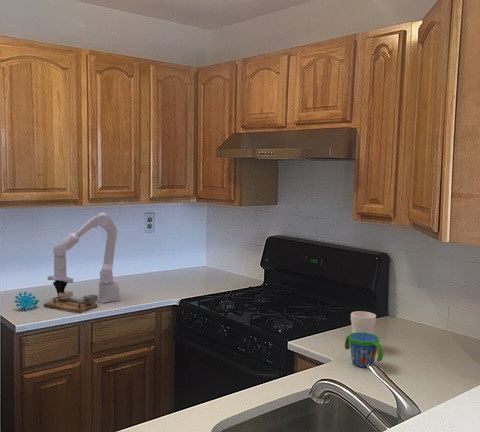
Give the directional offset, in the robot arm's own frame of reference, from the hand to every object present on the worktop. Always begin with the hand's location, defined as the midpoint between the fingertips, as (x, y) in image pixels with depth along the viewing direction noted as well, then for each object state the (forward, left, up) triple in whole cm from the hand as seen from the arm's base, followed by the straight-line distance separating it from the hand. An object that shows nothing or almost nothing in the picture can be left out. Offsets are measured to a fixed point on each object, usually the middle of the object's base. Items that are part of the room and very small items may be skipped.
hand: (60, 295), depth 264 cm
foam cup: (-78, +123, -4) cm, 146 cm away
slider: (+1, +5, -1) cm, 5 cm away
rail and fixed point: (-2, +10, -2) cm, 11 cm away
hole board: (-1, +11, -3) cm, 11 cm away
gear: (+16, +3, -4) cm, 17 cm away
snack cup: (-65, +136, -4) cm, 151 cm away
